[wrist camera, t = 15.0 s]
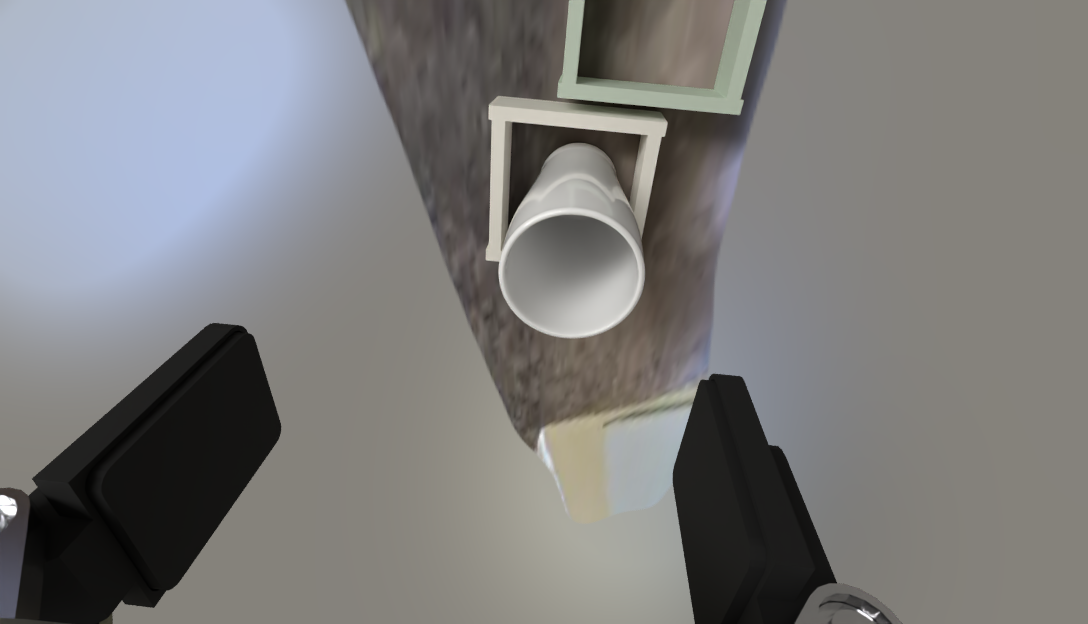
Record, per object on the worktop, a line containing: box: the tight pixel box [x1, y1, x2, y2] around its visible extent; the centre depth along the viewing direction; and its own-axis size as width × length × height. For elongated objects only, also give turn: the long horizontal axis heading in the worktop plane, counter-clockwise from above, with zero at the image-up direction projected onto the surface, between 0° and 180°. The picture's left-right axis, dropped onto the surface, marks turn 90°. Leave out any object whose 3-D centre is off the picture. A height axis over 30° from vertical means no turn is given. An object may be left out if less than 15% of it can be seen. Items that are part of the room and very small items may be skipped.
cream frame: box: [486, 96, 668, 262], centre depth 34 cm, size 10×11×4 cm
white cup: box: [499, 143, 645, 338], centre depth 29 cm, size 7×7×15 cm
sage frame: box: [557, 0, 767, 115], centre depth 28 cm, size 10×11×4 cm
